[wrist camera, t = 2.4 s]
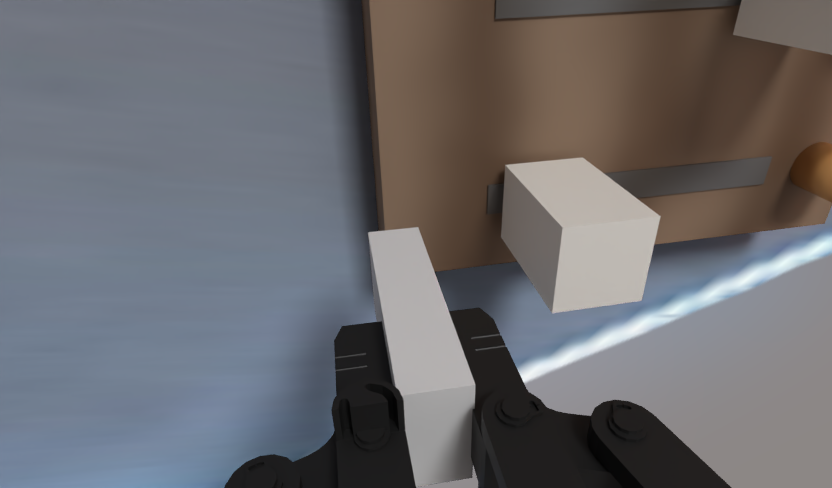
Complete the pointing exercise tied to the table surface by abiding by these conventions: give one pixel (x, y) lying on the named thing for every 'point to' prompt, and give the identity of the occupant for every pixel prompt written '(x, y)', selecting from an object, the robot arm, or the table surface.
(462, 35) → the switch unit
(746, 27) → the switch
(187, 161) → the table surface
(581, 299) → the switch
